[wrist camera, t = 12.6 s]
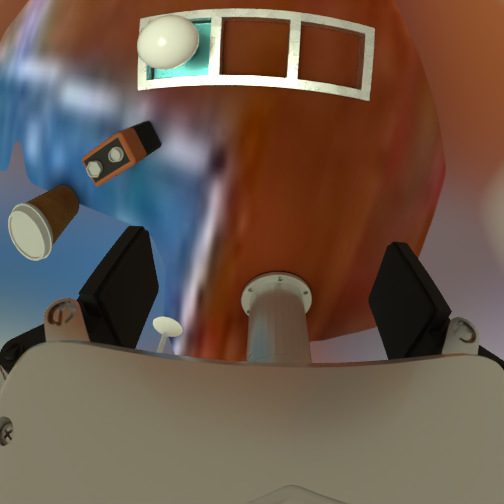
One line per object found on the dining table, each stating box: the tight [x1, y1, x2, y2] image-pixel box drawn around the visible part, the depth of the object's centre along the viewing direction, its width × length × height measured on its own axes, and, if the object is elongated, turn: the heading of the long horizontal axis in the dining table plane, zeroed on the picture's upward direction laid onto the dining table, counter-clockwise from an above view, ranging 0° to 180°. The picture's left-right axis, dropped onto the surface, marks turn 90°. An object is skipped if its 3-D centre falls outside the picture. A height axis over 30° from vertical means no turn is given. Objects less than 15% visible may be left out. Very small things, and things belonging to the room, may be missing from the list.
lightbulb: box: [137, 15, 199, 70], centre depth 22 cm, size 6×6×11 cm
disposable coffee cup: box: [8, 185, 79, 261], centre depth 34 cm, size 10×10×12 cm
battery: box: [82, 121, 161, 186], centre depth 30 cm, size 4×7×10 cm, turn 112°
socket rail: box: [138, 9, 375, 101], centre depth 26 cm, size 10×29×2 cm, turn 88°
